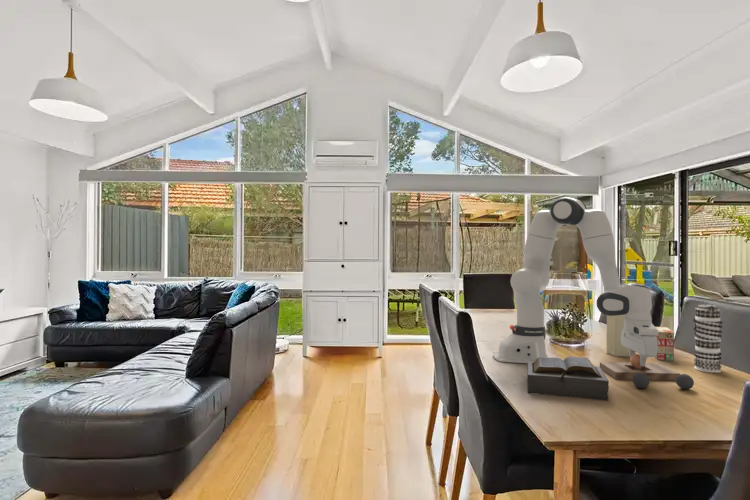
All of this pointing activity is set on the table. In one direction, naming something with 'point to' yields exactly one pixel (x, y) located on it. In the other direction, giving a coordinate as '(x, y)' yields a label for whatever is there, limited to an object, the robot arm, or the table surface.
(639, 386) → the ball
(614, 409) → the table surface
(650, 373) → the walnut board
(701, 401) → the table surface
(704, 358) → the black white tall cylinder
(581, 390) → the bible
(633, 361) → the terracotta ball
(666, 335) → the stack of blocks
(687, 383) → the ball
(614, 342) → the toy refrigerator
